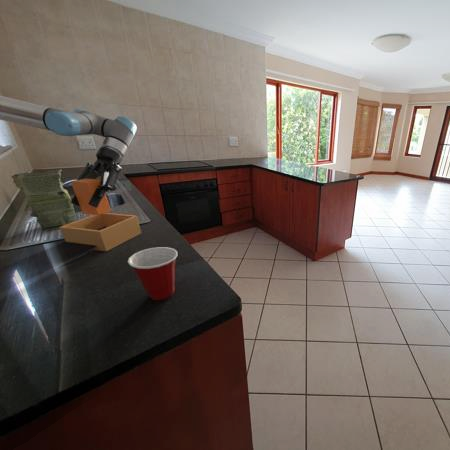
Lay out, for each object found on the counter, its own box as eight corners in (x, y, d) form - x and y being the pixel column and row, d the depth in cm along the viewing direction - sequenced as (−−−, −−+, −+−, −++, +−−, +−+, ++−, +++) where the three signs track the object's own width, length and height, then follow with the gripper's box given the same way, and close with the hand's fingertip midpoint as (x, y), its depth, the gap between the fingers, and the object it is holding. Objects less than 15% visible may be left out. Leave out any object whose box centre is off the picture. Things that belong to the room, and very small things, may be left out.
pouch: (35, 235, 95) (5, 173, 86) (56, 224, 106) (32, 168, 96) (67, 233, 98) (41, 172, 88) (85, 222, 108) (64, 167, 98)
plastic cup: (190, 295, 63) (182, 256, 59) (143, 313, 57) (130, 272, 52) (179, 276, 71) (171, 241, 66) (137, 290, 65) (125, 253, 60)
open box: (67, 246, 88) (59, 227, 85) (106, 229, 102) (100, 212, 99) (106, 251, 85) (99, 231, 81) (141, 233, 99) (136, 215, 95)
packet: (82, 213, 87) (70, 181, 82) (96, 209, 92) (85, 178, 87) (98, 215, 86) (86, 182, 81) (111, 210, 90) (100, 179, 85)
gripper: (140, 159, 94) (116, 211, 85) (99, 157, 97) (72, 207, 89) (125, 146, 87) (97, 202, 79) (81, 145, 90) (50, 198, 82)
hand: (83, 204), depth 84 cm, fingers closed on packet, 7 cm apart
